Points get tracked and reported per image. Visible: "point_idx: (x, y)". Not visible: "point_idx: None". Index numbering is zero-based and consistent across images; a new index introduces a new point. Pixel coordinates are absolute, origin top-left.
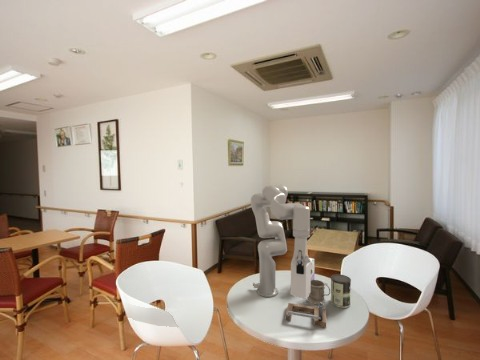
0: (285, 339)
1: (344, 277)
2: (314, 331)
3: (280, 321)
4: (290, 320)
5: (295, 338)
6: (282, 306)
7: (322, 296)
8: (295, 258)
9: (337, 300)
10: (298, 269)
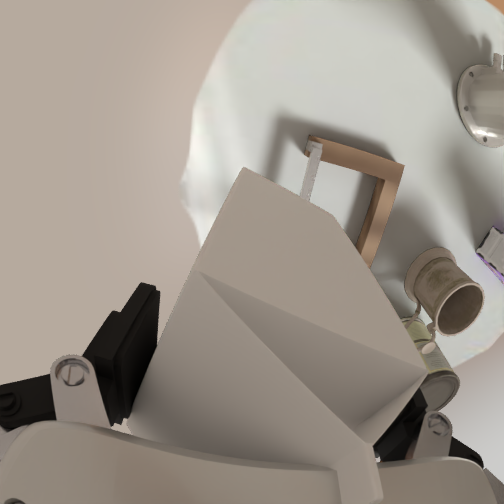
0: (194, 126)
1: (431, 407)
2: None
3: (301, 114)
4: (304, 154)
5: (203, 161)
6: (402, 139)
7: (417, 305)
8: (95, 437)
9: None
10: (99, 333)
